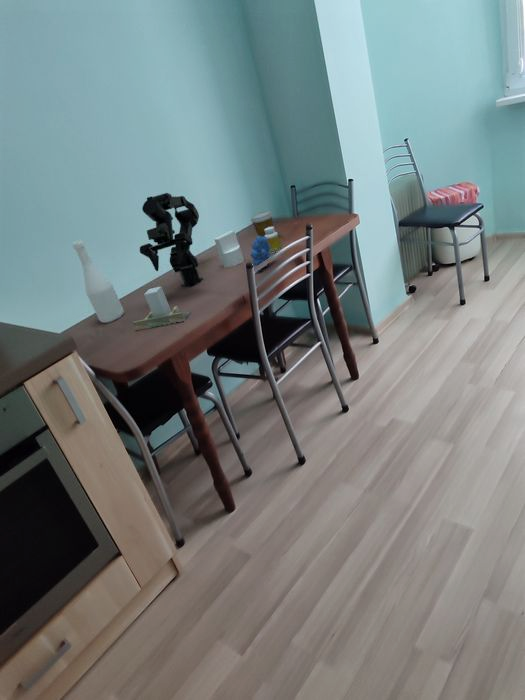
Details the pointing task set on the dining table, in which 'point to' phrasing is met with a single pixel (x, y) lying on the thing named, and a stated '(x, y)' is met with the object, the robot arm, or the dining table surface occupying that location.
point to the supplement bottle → (272, 239)
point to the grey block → (157, 302)
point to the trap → (161, 319)
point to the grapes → (260, 250)
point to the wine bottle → (98, 288)
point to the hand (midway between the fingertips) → (167, 267)
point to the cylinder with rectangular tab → (229, 249)
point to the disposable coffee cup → (262, 222)
